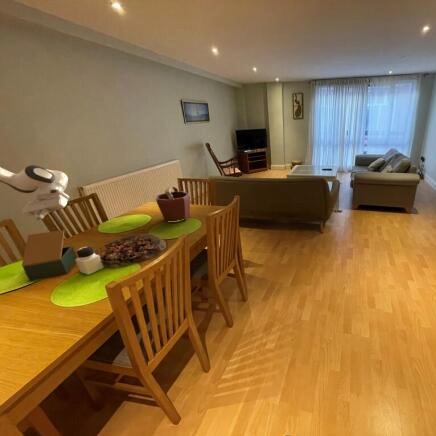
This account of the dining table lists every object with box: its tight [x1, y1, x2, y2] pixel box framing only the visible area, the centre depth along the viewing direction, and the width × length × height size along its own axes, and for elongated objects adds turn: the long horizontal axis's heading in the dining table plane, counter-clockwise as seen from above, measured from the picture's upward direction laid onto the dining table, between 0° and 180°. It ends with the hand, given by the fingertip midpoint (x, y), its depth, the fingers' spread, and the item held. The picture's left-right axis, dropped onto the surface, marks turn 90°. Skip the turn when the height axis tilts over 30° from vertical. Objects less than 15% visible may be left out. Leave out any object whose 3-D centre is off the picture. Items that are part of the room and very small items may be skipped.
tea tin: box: [22, 245, 79, 282], centre depth 119 cm, size 16×14×8 cm
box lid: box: [21, 229, 65, 267], centre depth 114 cm, size 17×14×1 cm
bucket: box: [155, 185, 191, 224], centre depth 177 cm, size 24×22×25 cm
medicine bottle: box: [75, 246, 105, 275], centre depth 117 cm, size 7×7×12 cm
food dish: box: [94, 233, 167, 268], centre depth 135 cm, size 35×33×8 cm
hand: (38, 218), depth 119 cm, fingers closed
